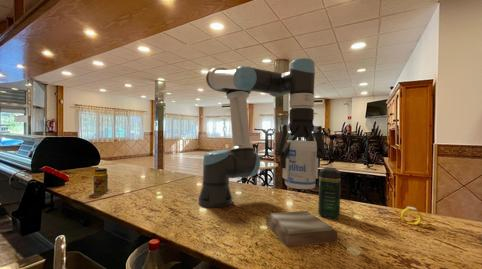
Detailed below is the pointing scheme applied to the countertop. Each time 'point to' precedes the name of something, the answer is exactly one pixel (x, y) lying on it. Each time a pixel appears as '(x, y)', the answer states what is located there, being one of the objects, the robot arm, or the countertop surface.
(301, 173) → the supplement tub
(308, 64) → the robot arm
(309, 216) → the plinth
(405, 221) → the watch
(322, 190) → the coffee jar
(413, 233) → the countertop surface
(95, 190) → the condiment
